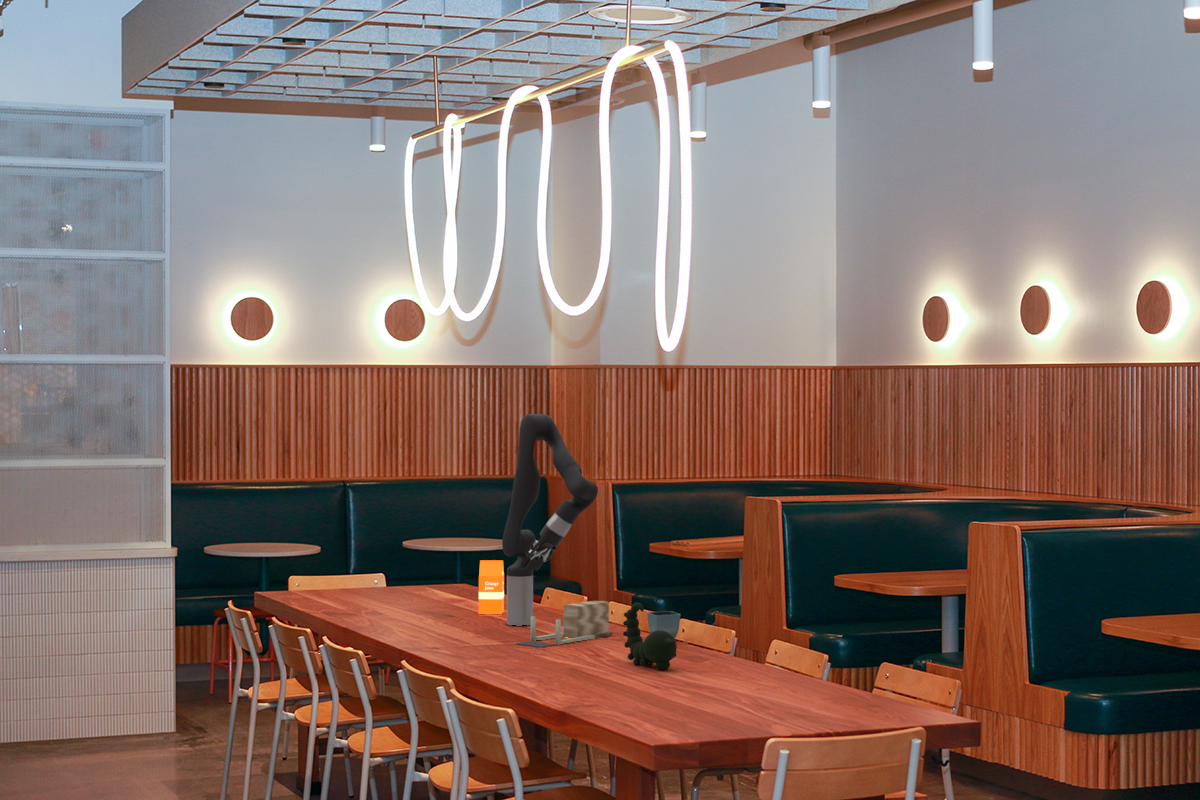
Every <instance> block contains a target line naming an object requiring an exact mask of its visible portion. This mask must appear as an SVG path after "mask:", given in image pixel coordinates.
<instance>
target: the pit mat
mask: <svg viewBox="0 0 1200 800" xmlns="http://www.w3.org/2000/svg"><path fill="white" fill-rule="evenodd" d="M517 644H518V646H524V645H526V646H525V647H531V646H534V648H539V647H543V648H547V647H546V646H549V647H553V646H552V645H555V646H557V645H556V643H551V642H550V643H549V642H542V641H531V640H528V641H522V642H516V643H515V645H517Z"/></svg>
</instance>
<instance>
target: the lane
mask: <svg viewBox="0 0 1200 800" xmlns="http://www.w3.org/2000/svg"><path fill="white" fill-rule="evenodd" d="M594 635H595V638H598V639H600V638H599V637H604V638H606V637H605V636H610V637H613V631H612V632H611V631H609V632H606V633H600V634H594Z"/></svg>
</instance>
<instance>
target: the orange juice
mask: <svg viewBox="0 0 1200 800" xmlns="http://www.w3.org/2000/svg"><path fill="white" fill-rule="evenodd" d="M504 568H505V567H504V560H496V559H493V560H492V559H491V560H487V559H485V560H483V559H482V560H479V573H478V574H479V575H478V615H479V614H502V613H503V612H504V613H505V572H504V571H505V570H504ZM504 613H503V614H504Z"/></svg>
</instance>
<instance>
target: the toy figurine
mask: <svg viewBox="0 0 1200 800" xmlns="http://www.w3.org/2000/svg"><path fill="white" fill-rule="evenodd" d="M639 611H641V612H644V605H643V604H642V603H641V602H635V603H632V604H631V606H630V609H628V610H627V611H626V612H624V613H623V617H624V618H626V620H624V621H623V623H622V624H623V626H624V627H626V631H623V633H622V635H623V636H625V637H627V640H626V641H625V642H624V648H625V649H626V648H627V649H628V648H629V653H628V654H627V659H628V660H629V661H632V662H633V665H635V666H639V665H641V666H643V667H647V666H648V665H653V664H655V668H656V669H657V670H659V671H666V670H668V669H669V668H670V667H671V660H672V659H674V658H676V657H677V648H678V645H677V643H676V642H677V641H676V638H675V639H674V638H673V636H672V635H671V634H670V633H668V632H666V631H663V630H657V631H654V632H652V633H651V632H650V633H649V634H648V635H647V636H646V638H645V639H644V641H643V638H642V636H641V629H640V627H639V625H640V622H639V621H640V620H639V619H638V612H639Z"/></svg>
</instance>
